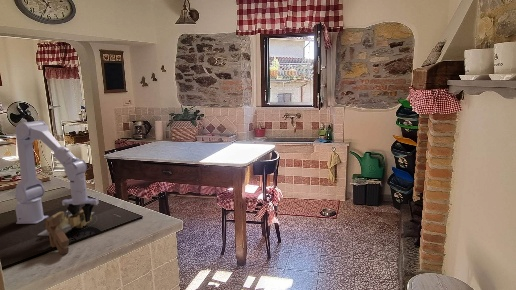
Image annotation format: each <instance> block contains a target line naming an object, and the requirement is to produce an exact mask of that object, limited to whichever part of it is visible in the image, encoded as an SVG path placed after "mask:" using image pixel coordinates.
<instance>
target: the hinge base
mask: <svg viewBox="0 0 516 290" xmlns="http://www.w3.org/2000/svg"><path fill="white" fill-rule="evenodd" d="M69 215H70V214H69V210H66V211H59V212H56V213H55V214H53V215H52V216H53V218H55V217H59V219H60V222H61V223H60V224H59V225H58V228H59V229H61V228H63V227H64V226H66V225H67V224H69V218H68V217H69Z"/></svg>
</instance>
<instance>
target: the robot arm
mask: <svg viewBox="0 0 516 290" xmlns="http://www.w3.org/2000/svg"><path fill="white" fill-rule="evenodd" d="M14 130H15V137H16V148H17V152H18V153H17V155H18V162H19V163H18V164H19V170H20V177H21V179H20V180H19V182H18V183H17V184H16V185H15V193H14V197H15V199H16V201H17V203H16V205H15V213H16V222H15V223H16V224H17V225H18V224H23V225H24V224H27V225H28V224H31V225H32V224H38V223H40V222H42V221H44V220H45V219H46V218H47V217H50V216H49V215H44V209H43V204H42V203H43V202H42V199H43V197H44V195H45V187H44V185H43V181H42V180H40V179H38V178H37V172H36V161H35V155H34V154H35V153H34V142H35V141H36V140H40V141H41V142H42V143H44V145H45V146H47V147H48V148H49V149H50V150H51V151H52V152H53V157H54V158H55V159H56V160H57V161H58V162H59V163H60V164H61V165H62V167H63V168H64V173H65V175H66V176H67V180H68V181H69V186H70V195H71V198H69V199H67V198H66V199H63V200H61V203H62V204H61V205H62V206H67V211H68V212H69V213H70V214H72V215H74V214H76V213H77V212H79V211H80V206H81V205H82V207H81V210H82V209H83V211H84V215H85V221H86V222H88V221H90V217H91V216H92V215H91V212H93V209H94V206H97V205H98V204H99V203H100V201H99V198H89V197H88V189H87V183H86V176H85V175H86V174H85V173H86V172H87V170H88V165H87V163H86V161H85V160H84V159H81V158H79V157H77V156H75V155H74V154H73V153H72V152H71V150H70V149H69V148H68V147H66V146H62V145H61V144H60V143H59V142H58V140H57V139H56V137H54V135H53V134H52V133H51V132H50V126H49V125H48V124H47V123H46V122H45V121H44V120H35V121H26V122H20V123H19V122H18V124H17V125H16V126H15V127H14Z"/></svg>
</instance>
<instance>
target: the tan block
mask: <svg viewBox="0 0 516 290" xmlns="http://www.w3.org/2000/svg"><path fill="white" fill-rule="evenodd" d="M92 216H93V215H91V217H90V221H91V222H92V221H93V218H92ZM68 218H69V225H70V226H75V227H76V229H83V228H84V227H85V226H86V225H87V223H88V224H89V223H91V222H90V221H88V222H86V221H85V215H84V211H83V209H82V208H81V210H79V212H77V213H76V214H74V215H71V216H69V217H68ZM83 226H84V227H83Z"/></svg>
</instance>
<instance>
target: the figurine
mask: <svg viewBox="0 0 516 290" xmlns="http://www.w3.org/2000/svg"><path fill="white" fill-rule="evenodd" d="M44 220H45V230H47V231H48V232H50V233H49V236H48V238H49V245H50V247H52V248H56V249H57V250H58V253H59V254H60V255H61V256H62V255H66V254H68V253H69V249H70V248H69V245H70V239H69V238H68V236H67V235H66V233H65V234H64V232H62V230H61V229H59V228H58V225H59V224H60V223H61V222H60V219H59V217H55V218H53V215H51V216H49V217H47V218H45V219H44Z"/></svg>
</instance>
